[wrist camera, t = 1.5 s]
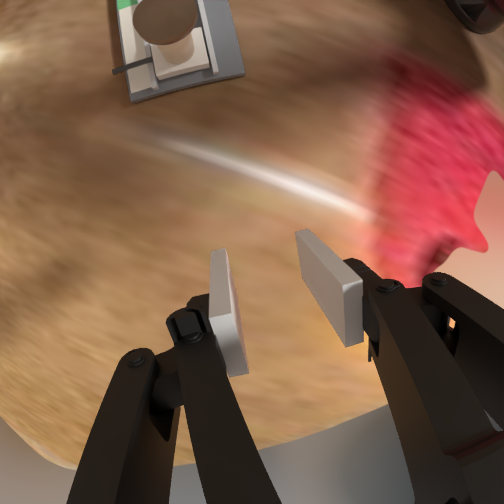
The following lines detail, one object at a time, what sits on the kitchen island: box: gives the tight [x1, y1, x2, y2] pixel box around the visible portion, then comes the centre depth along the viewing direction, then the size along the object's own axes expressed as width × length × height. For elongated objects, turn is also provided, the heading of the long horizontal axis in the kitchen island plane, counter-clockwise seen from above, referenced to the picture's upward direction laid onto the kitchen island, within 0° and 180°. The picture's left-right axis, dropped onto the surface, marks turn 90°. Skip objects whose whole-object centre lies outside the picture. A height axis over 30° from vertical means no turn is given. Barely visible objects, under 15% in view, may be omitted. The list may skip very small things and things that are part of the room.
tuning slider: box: [112, 0, 209, 80], centre depth 23 cm, size 11×5×13 cm, turn 102°
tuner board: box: [116, 0, 245, 103], centre depth 26 cm, size 14×26×3 cm, turn 12°
